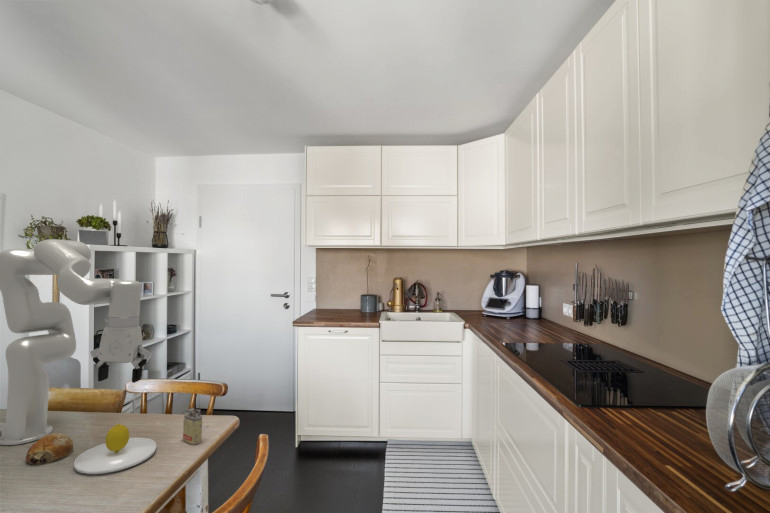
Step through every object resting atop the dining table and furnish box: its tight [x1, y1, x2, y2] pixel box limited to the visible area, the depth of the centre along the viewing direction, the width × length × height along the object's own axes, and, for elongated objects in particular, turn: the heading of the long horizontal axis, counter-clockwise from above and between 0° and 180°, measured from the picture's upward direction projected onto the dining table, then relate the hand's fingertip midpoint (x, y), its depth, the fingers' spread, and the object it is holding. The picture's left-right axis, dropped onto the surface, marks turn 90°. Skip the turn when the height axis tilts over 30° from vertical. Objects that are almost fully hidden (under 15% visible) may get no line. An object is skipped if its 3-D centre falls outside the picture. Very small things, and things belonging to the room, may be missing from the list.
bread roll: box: [25, 432, 74, 466], centre depth 106 cm, size 10×10×8 cm
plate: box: [73, 437, 157, 475], centre depth 106 cm, size 19×19×2 cm
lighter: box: [182, 407, 203, 445], centre depth 117 cm, size 7×4×10 cm, turn 59°
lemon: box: [104, 423, 130, 453], centre depth 106 cm, size 6×6×8 cm
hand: (119, 380), depth 109 cm, fingers open, 9 cm apart
